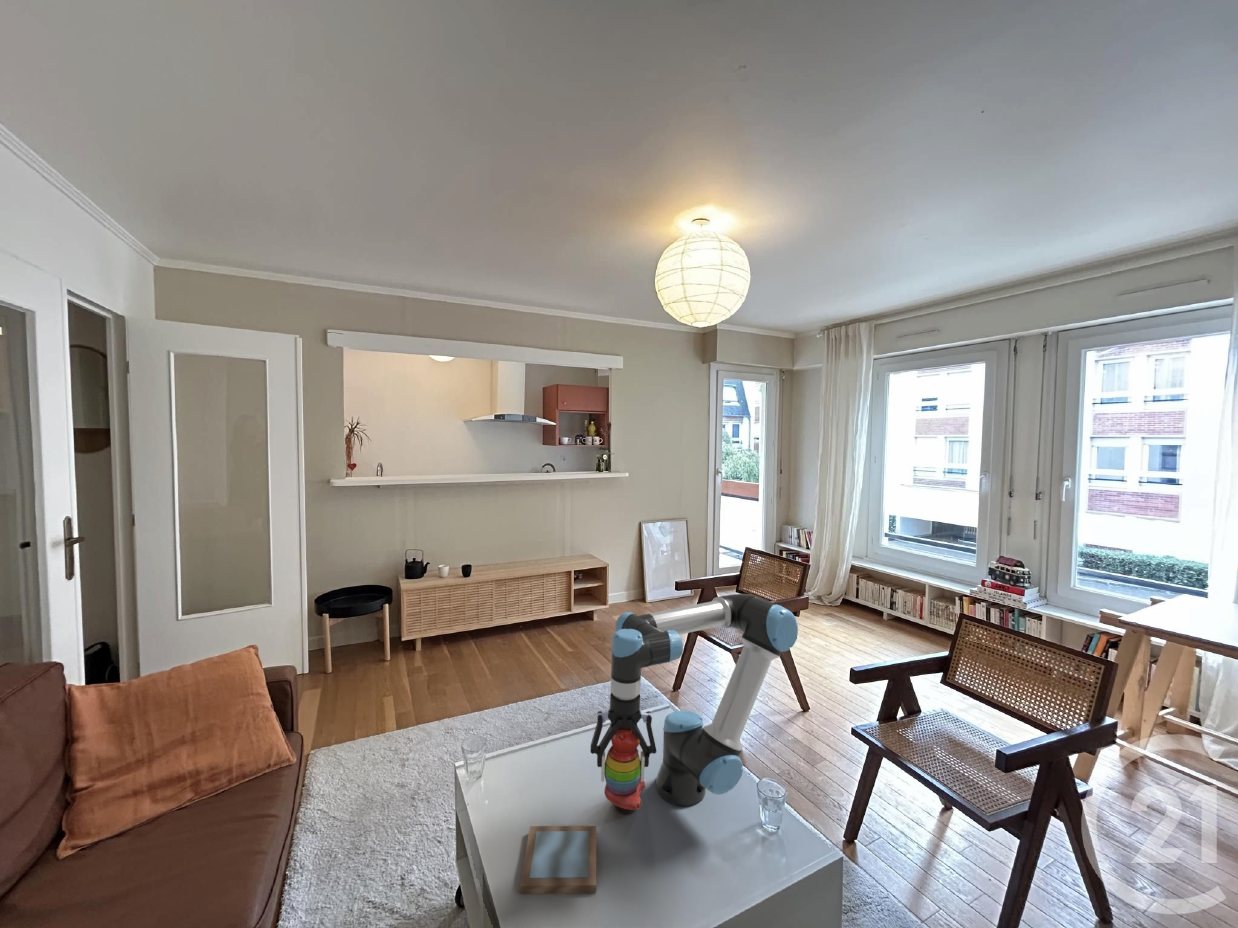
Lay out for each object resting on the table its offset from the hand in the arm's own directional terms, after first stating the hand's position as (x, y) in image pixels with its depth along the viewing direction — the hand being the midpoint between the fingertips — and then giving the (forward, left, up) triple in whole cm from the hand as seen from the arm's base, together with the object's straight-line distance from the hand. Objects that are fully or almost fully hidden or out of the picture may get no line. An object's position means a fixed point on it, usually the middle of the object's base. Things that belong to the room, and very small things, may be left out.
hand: (622, 777), depth 129 cm
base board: (+15, +1, -22) cm, 26 cm away
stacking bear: (0, 0, -4) cm, 4 cm away
